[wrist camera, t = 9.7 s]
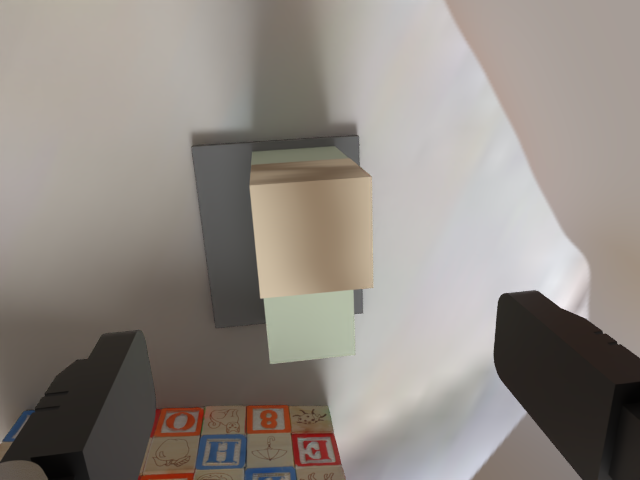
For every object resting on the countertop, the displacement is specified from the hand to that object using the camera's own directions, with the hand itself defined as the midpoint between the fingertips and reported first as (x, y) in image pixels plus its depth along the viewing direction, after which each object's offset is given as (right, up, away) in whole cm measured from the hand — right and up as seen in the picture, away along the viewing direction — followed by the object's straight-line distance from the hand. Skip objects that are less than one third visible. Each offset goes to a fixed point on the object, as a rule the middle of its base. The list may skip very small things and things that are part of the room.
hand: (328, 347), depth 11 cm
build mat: (-3, +3, +20) cm, 21 cm away
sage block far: (-1, -1, +21) cm, 21 cm away
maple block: (-1, +4, +14) cm, 15 cm away
